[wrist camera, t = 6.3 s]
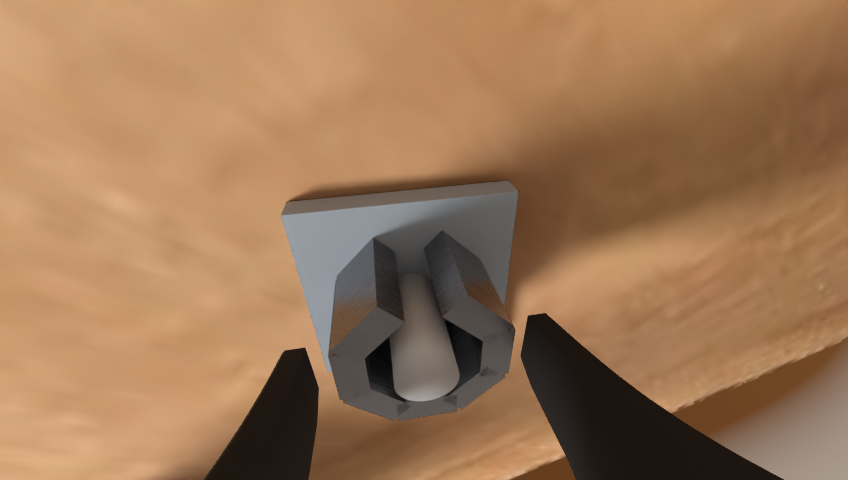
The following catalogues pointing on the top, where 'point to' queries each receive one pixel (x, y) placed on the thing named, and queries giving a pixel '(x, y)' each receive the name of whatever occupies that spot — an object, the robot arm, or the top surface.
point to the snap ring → (383, 314)
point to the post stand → (403, 263)
